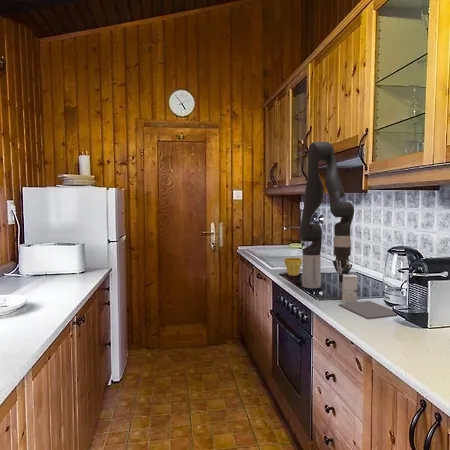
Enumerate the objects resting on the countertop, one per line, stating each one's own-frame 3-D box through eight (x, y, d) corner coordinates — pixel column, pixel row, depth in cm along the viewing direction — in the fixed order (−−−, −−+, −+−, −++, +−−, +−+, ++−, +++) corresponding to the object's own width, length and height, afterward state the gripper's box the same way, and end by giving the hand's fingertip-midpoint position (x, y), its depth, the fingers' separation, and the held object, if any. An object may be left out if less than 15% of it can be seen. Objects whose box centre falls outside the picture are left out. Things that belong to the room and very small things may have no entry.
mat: (338, 305, 166) (338, 304, 166) (370, 302, 170) (370, 300, 170) (367, 319, 146) (367, 317, 146) (402, 315, 151) (402, 313, 151)
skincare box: (343, 302, 169) (343, 276, 169) (341, 300, 174) (341, 274, 173) (357, 303, 168) (357, 276, 168) (355, 300, 173) (356, 274, 172)
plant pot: (281, 274, 233) (281, 259, 232) (290, 272, 240) (290, 256, 240) (296, 277, 226) (296, 260, 225) (305, 274, 233) (305, 258, 233)
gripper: (327, 244, 181) (327, 280, 182) (343, 247, 168) (343, 286, 169) (341, 243, 183) (341, 278, 184) (358, 246, 170) (357, 284, 171)
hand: (342, 282), depth 177 cm, fingers closed
